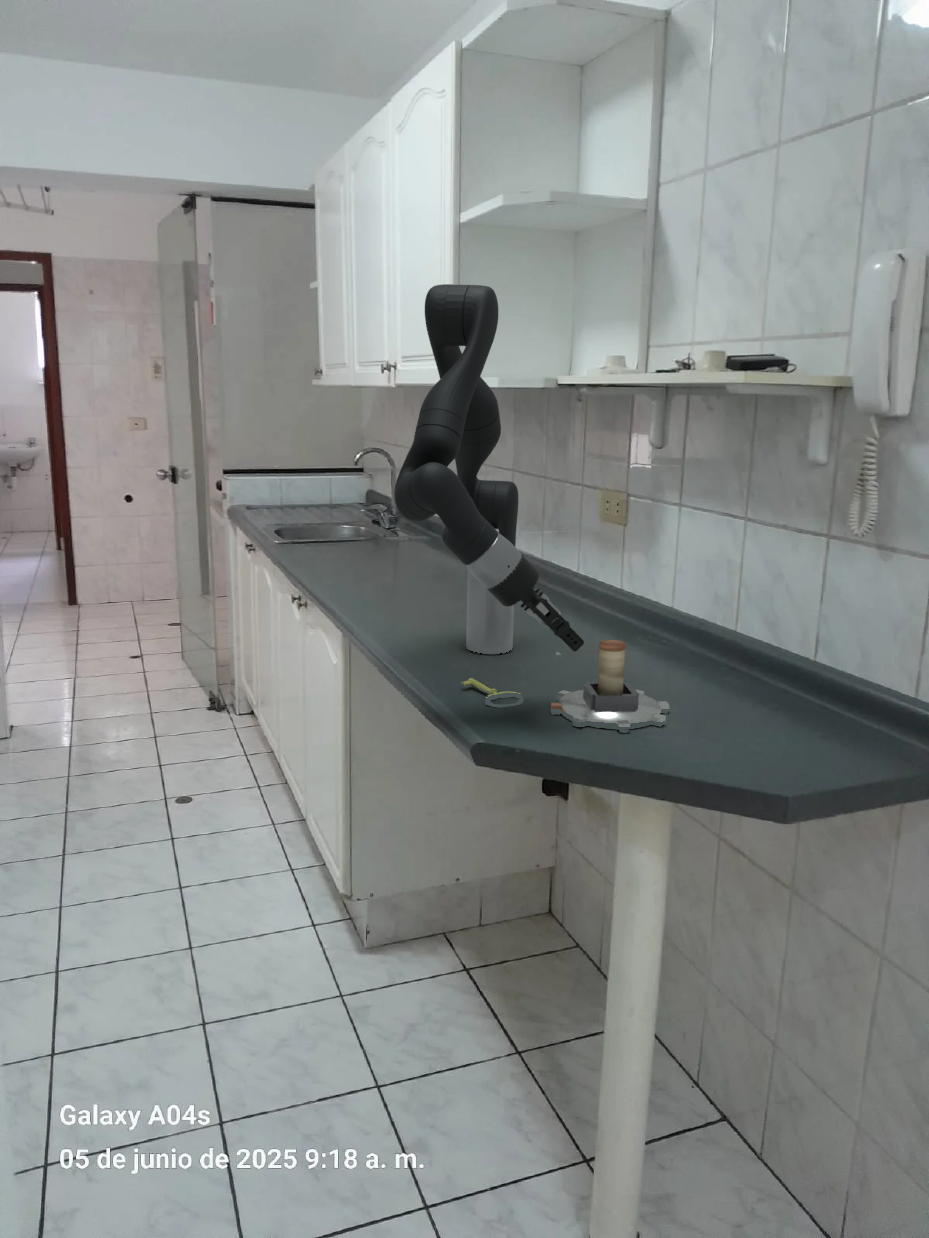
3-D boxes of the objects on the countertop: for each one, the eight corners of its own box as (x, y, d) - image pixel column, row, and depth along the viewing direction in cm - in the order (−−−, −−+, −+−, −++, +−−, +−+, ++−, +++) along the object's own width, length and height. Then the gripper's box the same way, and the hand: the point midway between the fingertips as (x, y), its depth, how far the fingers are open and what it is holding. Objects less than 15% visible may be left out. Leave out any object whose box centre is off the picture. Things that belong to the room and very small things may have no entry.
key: (469, 688, 165) (469, 676, 164) (529, 702, 158) (530, 690, 157) (444, 698, 159) (444, 686, 159) (506, 714, 152) (506, 701, 152)
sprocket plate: (541, 694, 160) (541, 672, 159) (651, 693, 162) (652, 671, 161) (562, 734, 142) (563, 708, 141) (685, 732, 143) (687, 707, 143)
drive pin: (594, 699, 153) (597, 640, 151) (619, 699, 154) (622, 639, 151) (599, 707, 149) (602, 646, 147) (625, 707, 150) (628, 646, 147)
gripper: (530, 559, 136) (603, 634, 141) (508, 543, 150) (575, 612, 155) (493, 596, 136) (567, 669, 141) (475, 577, 150) (542, 645, 155)
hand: (571, 639), depth 148 cm, fingers open, 8 cm apart
